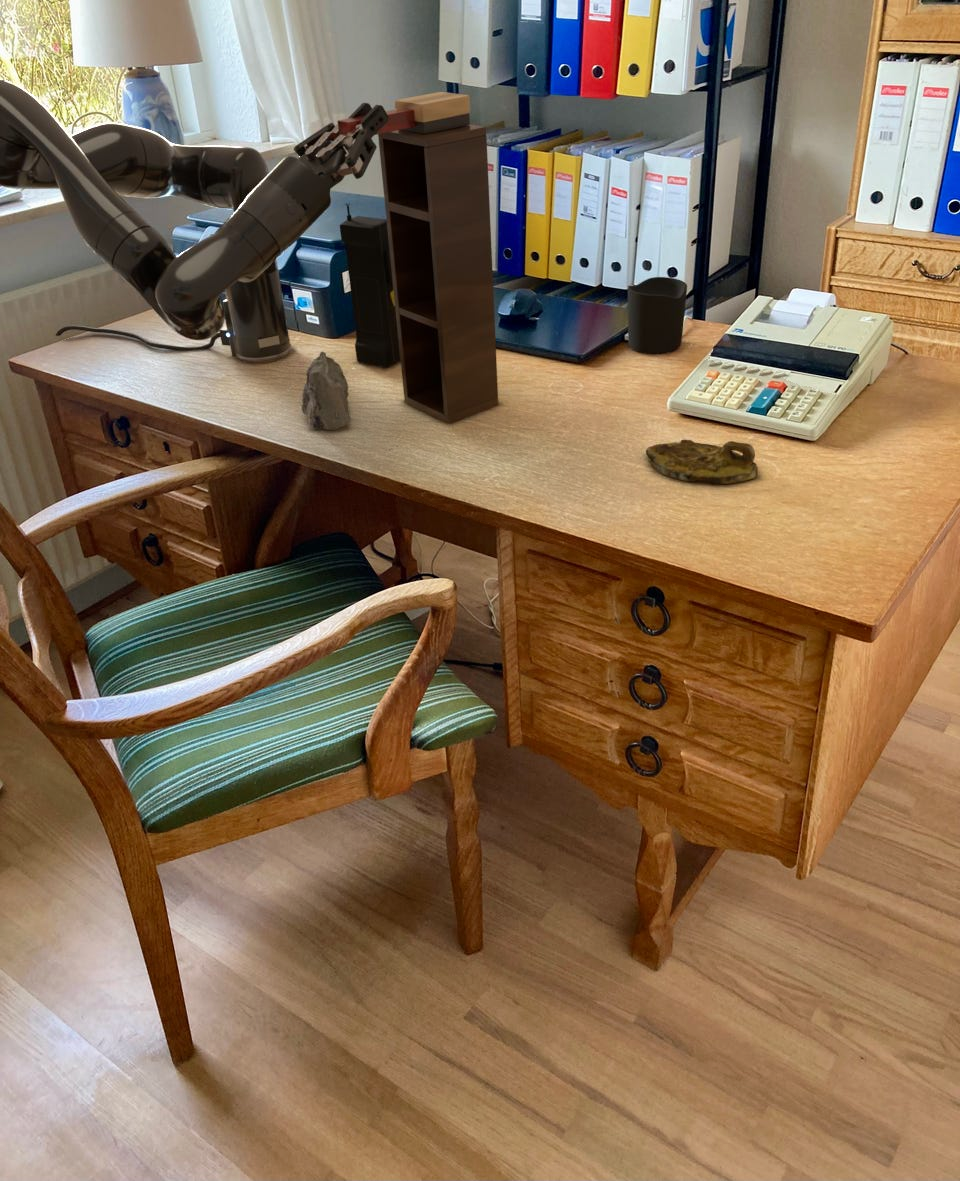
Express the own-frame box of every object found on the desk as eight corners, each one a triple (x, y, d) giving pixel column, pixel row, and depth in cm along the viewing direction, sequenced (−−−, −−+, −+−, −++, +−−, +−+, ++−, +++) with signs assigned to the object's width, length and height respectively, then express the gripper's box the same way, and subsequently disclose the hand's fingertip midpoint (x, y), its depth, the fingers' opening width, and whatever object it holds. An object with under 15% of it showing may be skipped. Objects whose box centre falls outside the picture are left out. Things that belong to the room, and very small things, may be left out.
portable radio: (414, 357, 171) (400, 202, 157) (393, 369, 167) (376, 211, 153) (377, 350, 175) (359, 197, 161) (355, 362, 171) (335, 206, 157)
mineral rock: (329, 391, 161) (320, 329, 156) (387, 401, 157) (380, 338, 151) (279, 424, 152) (268, 359, 146) (339, 436, 147) (330, 370, 142)
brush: (332, 142, 129) (328, 112, 127) (443, 120, 137) (440, 91, 136) (358, 148, 125) (355, 117, 123) (471, 124, 133) (469, 95, 132)
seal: (633, 479, 134) (748, 498, 128) (633, 449, 131) (750, 466, 125) (655, 442, 140) (766, 458, 135) (655, 412, 137) (768, 427, 132)
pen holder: (687, 355, 166) (691, 294, 161) (629, 357, 167) (631, 296, 161) (678, 334, 174) (682, 275, 168) (623, 337, 174) (624, 278, 169)
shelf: (404, 402, 156) (377, 129, 135) (453, 384, 161) (434, 118, 139) (448, 424, 149) (427, 139, 127) (498, 404, 154) (486, 126, 132)
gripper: (273, 221, 132) (361, 129, 135) (331, 240, 123) (425, 141, 126) (237, 173, 126) (331, 78, 129) (296, 189, 117) (395, 87, 120)
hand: (377, 110), depth 127 cm, fingers closed on brush, 2 cm apart
